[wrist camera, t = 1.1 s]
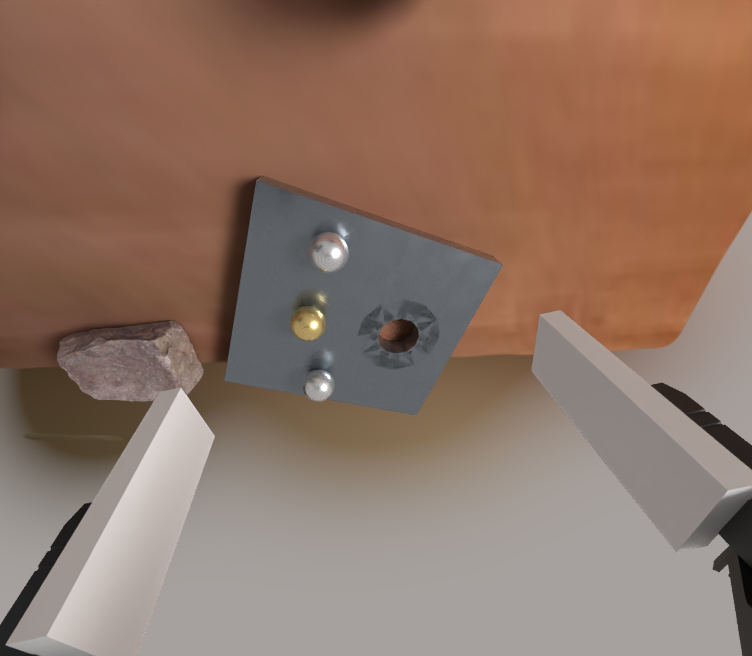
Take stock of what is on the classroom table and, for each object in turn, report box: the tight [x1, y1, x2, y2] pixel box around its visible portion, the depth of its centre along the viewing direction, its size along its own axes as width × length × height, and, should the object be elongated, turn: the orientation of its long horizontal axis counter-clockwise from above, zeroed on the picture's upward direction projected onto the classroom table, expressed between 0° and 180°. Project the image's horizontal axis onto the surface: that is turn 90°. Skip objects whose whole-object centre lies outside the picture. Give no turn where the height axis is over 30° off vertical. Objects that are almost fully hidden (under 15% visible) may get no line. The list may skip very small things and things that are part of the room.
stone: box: [57, 321, 204, 402], centre depth 35 cm, size 9×12×5 cm
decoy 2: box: [303, 369, 335, 401], centre depth 36 cm, size 4×4×4 cm
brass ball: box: [290, 306, 326, 341], centre depth 32 cm, size 4×4×4 cm
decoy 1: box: [308, 232, 349, 273], centre depth 28 cm, size 4×4×4 cm
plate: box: [225, 176, 503, 415], centre depth 36 cm, size 24×22×2 cm
